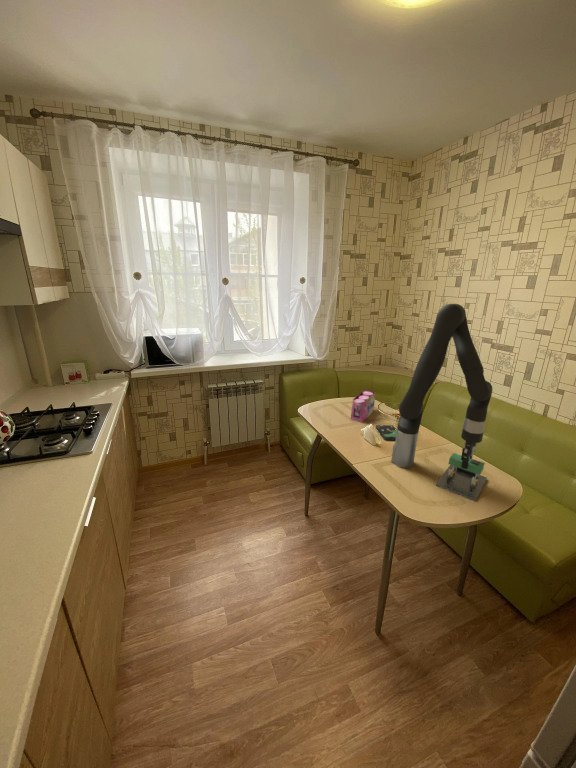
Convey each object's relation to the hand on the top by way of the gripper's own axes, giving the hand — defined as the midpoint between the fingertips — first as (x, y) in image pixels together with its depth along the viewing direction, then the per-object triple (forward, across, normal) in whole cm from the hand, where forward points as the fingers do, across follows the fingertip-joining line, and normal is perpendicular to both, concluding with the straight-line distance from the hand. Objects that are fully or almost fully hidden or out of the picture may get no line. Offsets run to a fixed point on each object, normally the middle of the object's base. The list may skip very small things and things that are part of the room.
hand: (466, 465), depth 133 cm
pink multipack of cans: (+8, -36, -68) cm, 77 cm away
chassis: (+9, 0, 0) cm, 9 cm away
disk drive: (+9, -21, -44) cm, 49 cm away
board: (+1, 0, 0) cm, 1 cm away
